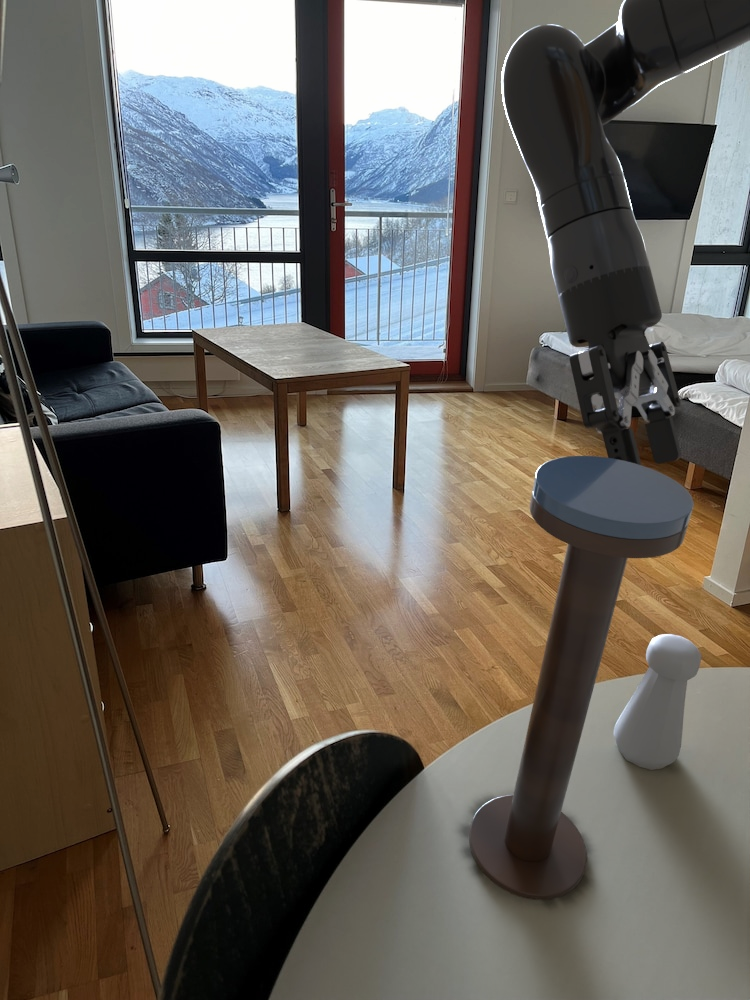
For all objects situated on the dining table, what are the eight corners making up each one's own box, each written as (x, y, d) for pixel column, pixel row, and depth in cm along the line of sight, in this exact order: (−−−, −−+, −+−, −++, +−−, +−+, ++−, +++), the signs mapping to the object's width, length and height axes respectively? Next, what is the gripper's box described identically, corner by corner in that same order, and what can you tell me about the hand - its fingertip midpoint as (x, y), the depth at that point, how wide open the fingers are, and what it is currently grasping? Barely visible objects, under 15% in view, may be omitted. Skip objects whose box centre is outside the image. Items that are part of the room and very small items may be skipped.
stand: (486, 791, 63) (551, 458, 49) (592, 834, 60) (694, 491, 46) (451, 876, 56) (515, 512, 41) (570, 930, 52) (683, 556, 38)
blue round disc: (551, 458, 49) (554, 444, 48) (694, 491, 46) (698, 476, 45) (515, 512, 41) (518, 496, 41) (683, 556, 38) (687, 539, 38)
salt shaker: (597, 755, 68) (629, 642, 62) (625, 724, 71) (658, 615, 66) (658, 793, 64) (698, 676, 58) (684, 758, 68) (724, 646, 62)
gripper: (607, 256, 53) (661, 473, 54) (678, 266, 64) (723, 448, 64) (520, 294, 59) (569, 491, 59) (599, 297, 69) (640, 465, 69)
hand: (649, 468), depth 61 cm, fingers open, 8 cm apart
